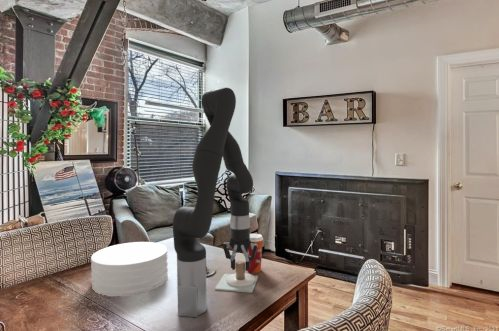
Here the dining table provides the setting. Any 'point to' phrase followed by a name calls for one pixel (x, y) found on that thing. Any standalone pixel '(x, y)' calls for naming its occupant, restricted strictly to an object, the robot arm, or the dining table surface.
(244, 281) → the cup lid
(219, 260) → the dining table surface
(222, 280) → the rubber mat
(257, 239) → the coffee cup
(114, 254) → the plate stack
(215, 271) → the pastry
